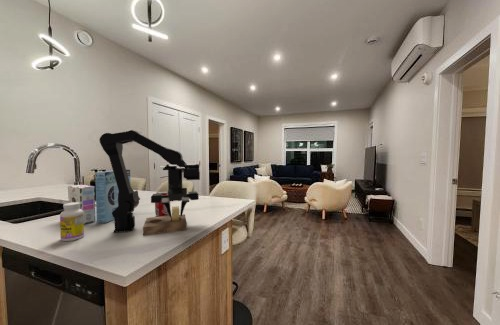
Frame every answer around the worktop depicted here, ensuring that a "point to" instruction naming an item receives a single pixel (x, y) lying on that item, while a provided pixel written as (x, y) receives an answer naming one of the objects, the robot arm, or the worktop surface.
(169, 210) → the robot arm
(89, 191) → the candy box
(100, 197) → the light blue cardboard box
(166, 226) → the bit block
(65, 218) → the supplement bottle
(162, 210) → the soda can
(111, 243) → the worktop surface
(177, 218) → the pale yellow block
